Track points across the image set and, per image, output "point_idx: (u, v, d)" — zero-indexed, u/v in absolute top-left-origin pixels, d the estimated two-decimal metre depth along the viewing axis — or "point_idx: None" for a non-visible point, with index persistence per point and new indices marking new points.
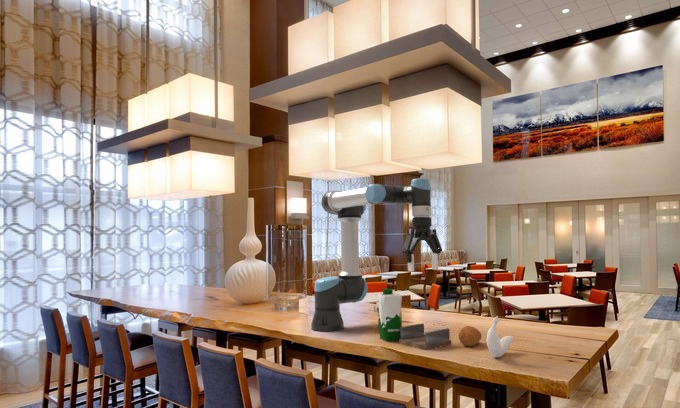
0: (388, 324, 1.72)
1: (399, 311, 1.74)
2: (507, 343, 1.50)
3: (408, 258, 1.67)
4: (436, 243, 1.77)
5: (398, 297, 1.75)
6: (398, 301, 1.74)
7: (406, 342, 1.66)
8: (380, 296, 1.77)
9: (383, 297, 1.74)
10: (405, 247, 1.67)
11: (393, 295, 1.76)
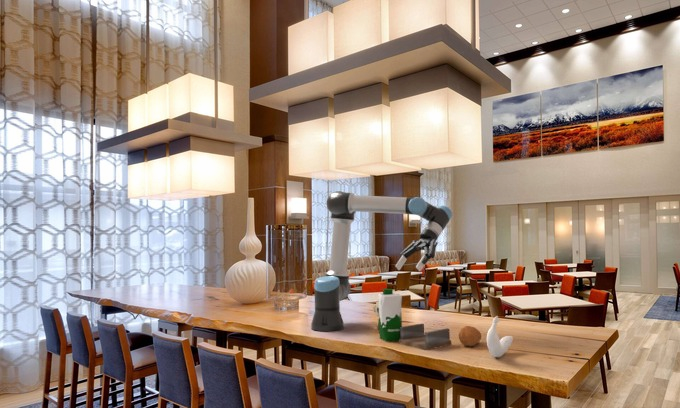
0: (388, 324, 1.72)
1: (399, 311, 1.74)
2: (507, 343, 1.50)
3: (426, 260, 1.85)
4: None
5: (398, 297, 1.75)
6: (398, 301, 1.74)
7: (406, 342, 1.66)
8: (380, 296, 1.77)
9: (383, 297, 1.74)
10: (433, 253, 1.85)
11: (393, 295, 1.76)
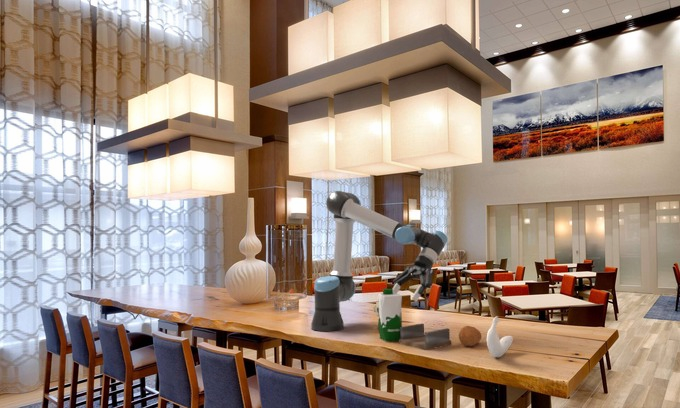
0: (388, 324, 1.72)
1: (399, 311, 1.74)
2: (507, 343, 1.50)
3: (423, 290, 1.76)
4: None
5: (398, 297, 1.75)
6: (398, 301, 1.74)
7: (406, 342, 1.66)
8: (380, 296, 1.77)
9: (383, 297, 1.74)
10: (429, 282, 1.77)
11: (393, 295, 1.76)
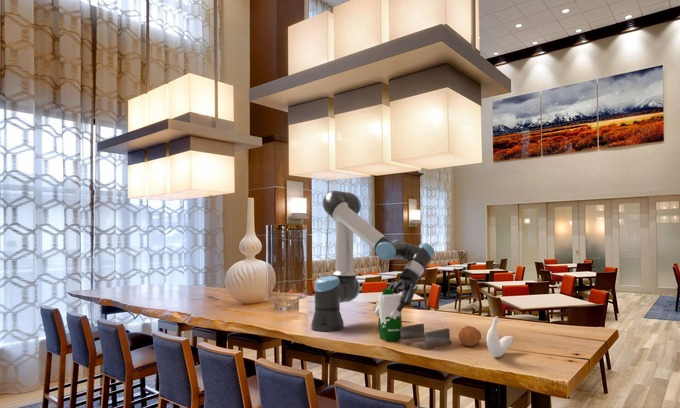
0: (388, 324, 1.73)
1: None
2: (507, 343, 1.50)
3: (401, 308, 1.73)
4: None
5: (398, 297, 1.75)
6: (398, 301, 1.74)
7: (406, 342, 1.66)
8: (380, 296, 1.77)
9: (383, 297, 1.74)
10: (409, 299, 1.73)
11: (393, 295, 1.76)
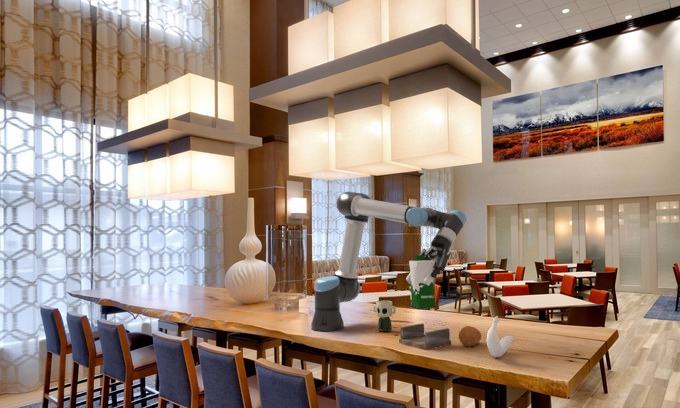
0: (422, 291, 1.65)
1: None
2: (507, 343, 1.50)
3: (435, 273, 1.65)
4: None
5: (431, 263, 1.68)
6: (431, 267, 1.67)
7: (406, 342, 1.66)
8: (412, 262, 1.70)
9: (415, 263, 1.67)
10: (443, 265, 1.66)
11: (426, 261, 1.69)
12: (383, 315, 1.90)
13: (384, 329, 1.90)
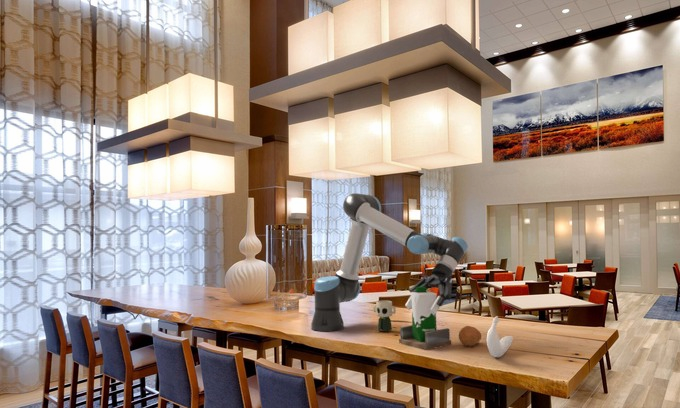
0: (423, 324, 1.64)
1: None
2: (507, 343, 1.50)
3: (442, 302, 1.63)
4: None
5: (433, 295, 1.66)
6: (433, 299, 1.66)
7: (406, 342, 1.66)
8: (413, 294, 1.69)
9: (417, 295, 1.66)
10: (449, 293, 1.64)
11: (427, 293, 1.67)
12: (383, 315, 1.90)
13: (384, 329, 1.90)
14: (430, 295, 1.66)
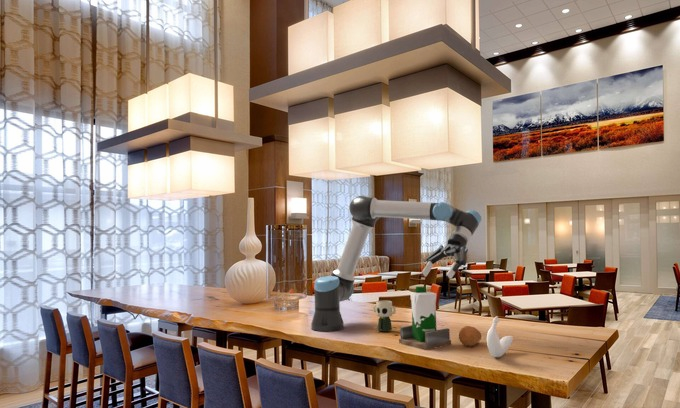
0: (423, 324, 1.64)
1: (434, 310, 1.66)
2: (507, 343, 1.50)
3: (457, 268, 1.74)
4: None
5: (433, 295, 1.66)
6: (433, 299, 1.66)
7: (406, 342, 1.66)
8: (413, 294, 1.69)
9: (417, 295, 1.66)
10: (464, 260, 1.75)
11: (427, 293, 1.67)
12: (383, 315, 1.90)
13: (384, 329, 1.90)
14: (430, 295, 1.66)
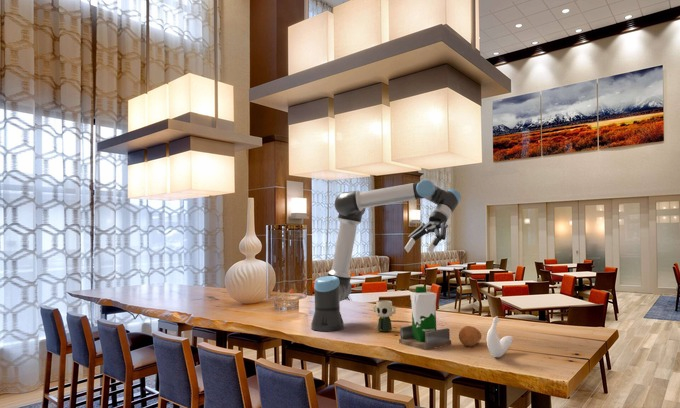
0: (423, 324, 1.64)
1: (434, 310, 1.66)
2: (507, 343, 1.50)
3: (437, 242, 1.82)
4: None
5: (433, 295, 1.66)
6: (433, 299, 1.66)
7: (406, 342, 1.66)
8: (413, 294, 1.69)
9: (417, 295, 1.66)
10: (444, 234, 1.83)
11: (427, 293, 1.67)
12: (383, 315, 1.90)
13: (384, 329, 1.90)
14: (430, 295, 1.66)
